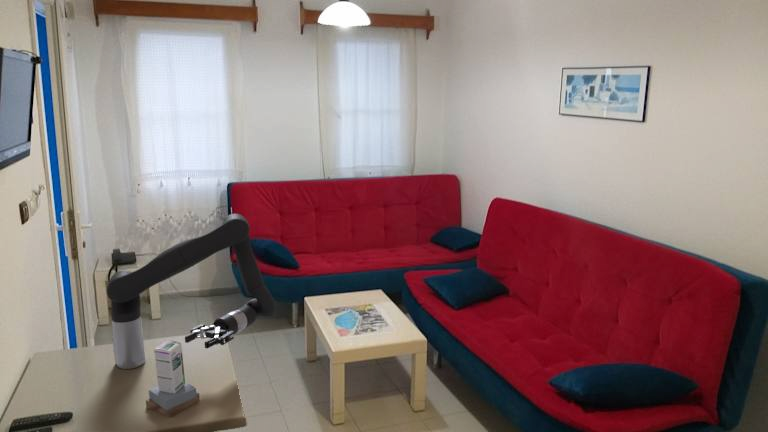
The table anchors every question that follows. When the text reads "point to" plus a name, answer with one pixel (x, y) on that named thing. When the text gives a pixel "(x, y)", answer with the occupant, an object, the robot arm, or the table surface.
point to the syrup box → (169, 366)
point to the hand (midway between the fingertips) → (195, 342)
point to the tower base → (172, 411)
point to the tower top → (172, 396)
